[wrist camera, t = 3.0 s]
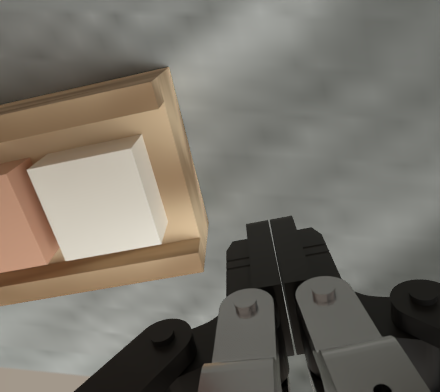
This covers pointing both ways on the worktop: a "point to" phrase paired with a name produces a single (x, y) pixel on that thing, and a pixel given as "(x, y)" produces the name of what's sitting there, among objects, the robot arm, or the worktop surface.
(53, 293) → the wooden u-channel
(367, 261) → the worktop surface
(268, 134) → the worktop surface
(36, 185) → the tile
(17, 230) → the tile
